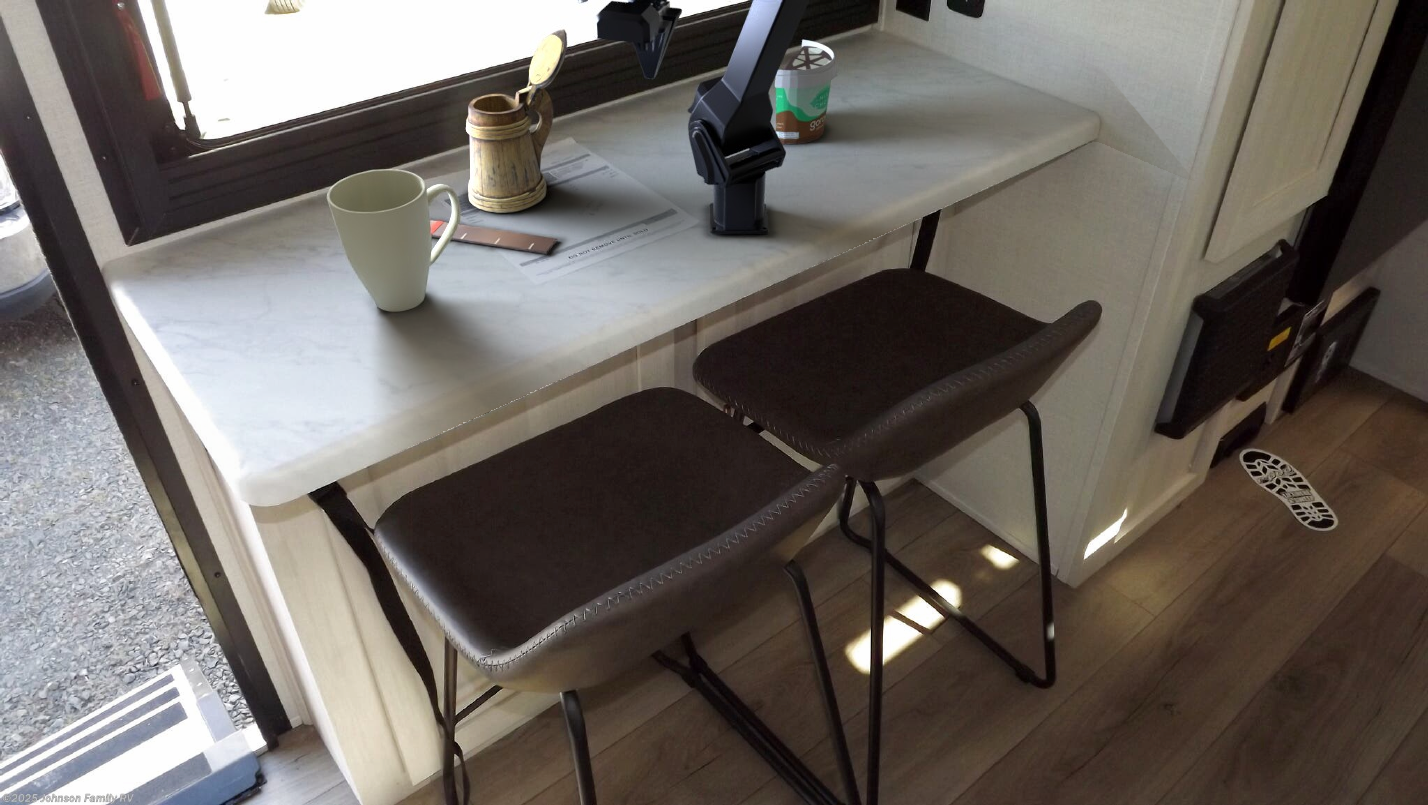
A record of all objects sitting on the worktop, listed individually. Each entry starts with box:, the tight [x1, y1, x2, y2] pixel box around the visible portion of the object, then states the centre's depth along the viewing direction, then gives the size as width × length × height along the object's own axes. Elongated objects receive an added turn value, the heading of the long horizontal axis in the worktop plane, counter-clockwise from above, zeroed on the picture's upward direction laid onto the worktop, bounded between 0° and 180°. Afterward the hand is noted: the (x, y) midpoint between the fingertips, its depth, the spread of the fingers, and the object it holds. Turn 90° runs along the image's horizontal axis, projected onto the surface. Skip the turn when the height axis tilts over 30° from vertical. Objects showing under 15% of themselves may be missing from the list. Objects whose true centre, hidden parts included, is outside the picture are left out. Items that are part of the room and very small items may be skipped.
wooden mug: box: [465, 29, 568, 214], centre depth 117 cm, size 9×14×18 cm, turn 119°
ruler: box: [430, 219, 558, 255], centre depth 114 cm, size 20×3×1 cm, turn 75°
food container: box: [774, 39, 838, 145], centre depth 133 cm, size 12×6×10 cm, turn 160°
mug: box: [326, 168, 462, 313], centre depth 101 cm, size 11×10×12 cm
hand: (650, 77), depth 119 cm, fingers closed
